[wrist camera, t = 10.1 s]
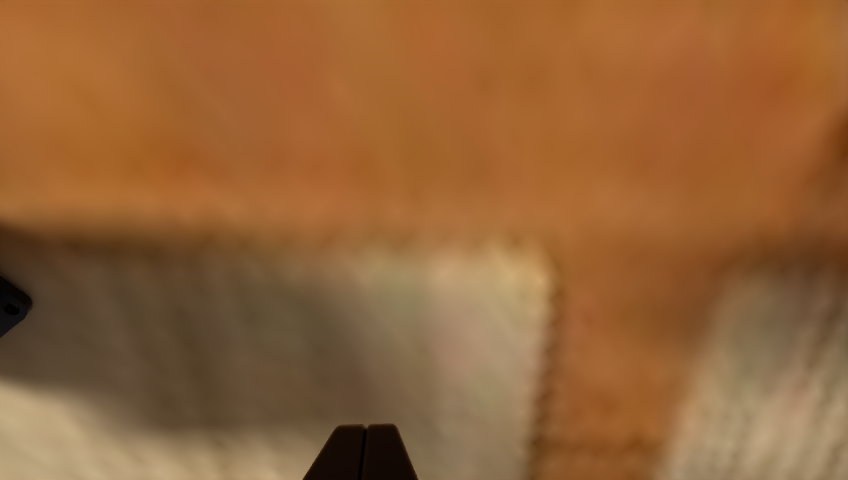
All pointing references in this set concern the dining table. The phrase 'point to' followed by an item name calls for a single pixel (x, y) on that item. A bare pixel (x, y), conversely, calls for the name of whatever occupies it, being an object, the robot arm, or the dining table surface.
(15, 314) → the robot arm
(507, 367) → the dining table surface
